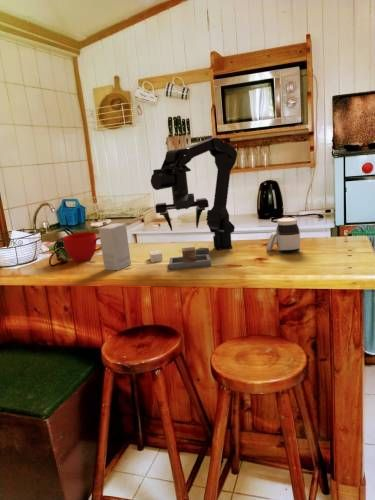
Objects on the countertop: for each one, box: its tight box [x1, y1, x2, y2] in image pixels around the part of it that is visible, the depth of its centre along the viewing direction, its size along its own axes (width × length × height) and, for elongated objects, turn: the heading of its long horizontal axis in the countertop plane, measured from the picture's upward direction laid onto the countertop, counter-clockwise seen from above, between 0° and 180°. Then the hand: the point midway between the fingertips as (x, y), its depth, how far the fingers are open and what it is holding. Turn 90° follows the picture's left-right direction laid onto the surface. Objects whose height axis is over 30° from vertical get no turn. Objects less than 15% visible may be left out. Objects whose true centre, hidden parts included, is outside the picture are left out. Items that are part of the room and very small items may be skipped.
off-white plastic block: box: [148, 249, 163, 263], centre depth 151 cm, size 4×6×3 cm, turn 13°
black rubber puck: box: [195, 247, 211, 258], centre depth 148 cm, size 5×5×3 cm
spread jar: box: [266, 217, 301, 255], centre depth 144 cm, size 12×11×12 cm
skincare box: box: [98, 222, 132, 271], centre depth 144 cm, size 8×7×16 cm
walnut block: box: [181, 246, 196, 262], centre depth 139 cm, size 4×4×5 cm
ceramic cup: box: [62, 231, 102, 263], centre depth 161 cm, size 13×17×10 cm
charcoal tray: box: [168, 253, 212, 271], centre depth 140 cm, size 14×9×2 cm, turn 91°
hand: (184, 229), depth 145 cm, fingers open, 9 cm apart
